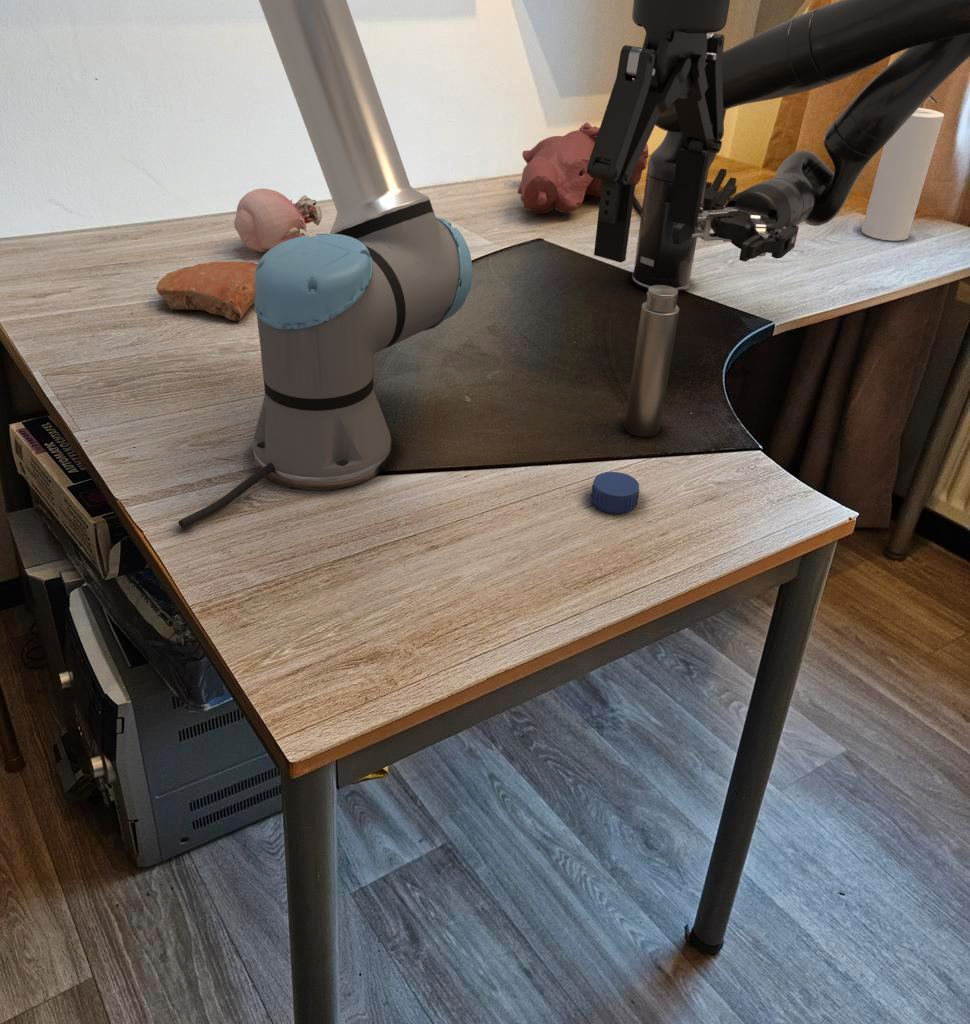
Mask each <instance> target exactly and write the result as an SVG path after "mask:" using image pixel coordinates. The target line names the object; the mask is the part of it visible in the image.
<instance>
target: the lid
mask: <svg viewBox="0 0 970 1024" xmlns="http://www.w3.org/2000/svg"><path fill="white" fill-rule="evenodd" d="M639 494H640V484H639V482H638V480H637V479H636V478H635V477H633V476H631V475H630V474H627V473H625V472H624V473H623V472H619V471H606V472H602V473H600V474H597V475H596V476H595V478H594V479H593V481H592V486H591V495H590V498H591V499H590V500H591V502H592V504H593V505H594V506H595V507H596V508H597V509H598V510H601V511H603V512H606V513H609V514H626V513H629V512H631V511H633V510H634V509H635V508H636V507H637V505H638V500H639Z"/></svg>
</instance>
